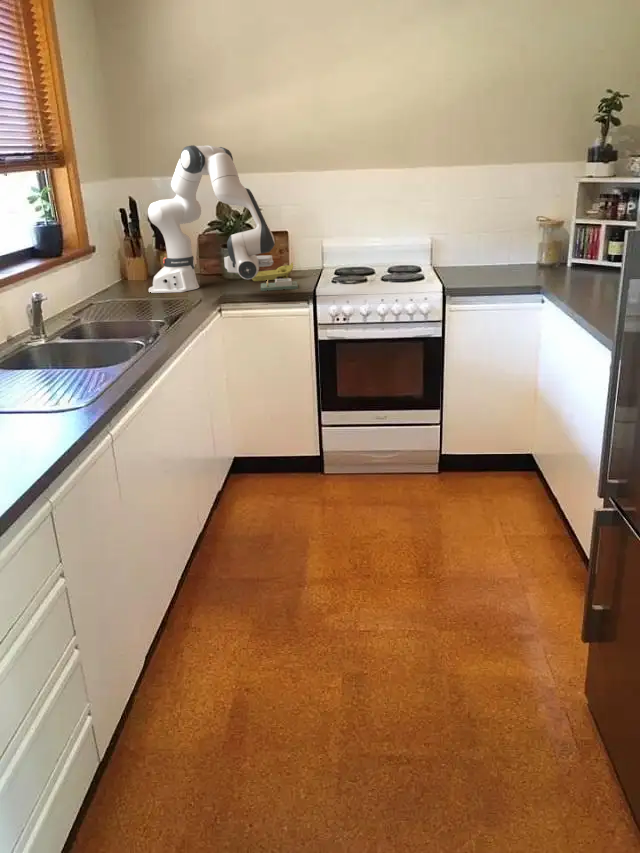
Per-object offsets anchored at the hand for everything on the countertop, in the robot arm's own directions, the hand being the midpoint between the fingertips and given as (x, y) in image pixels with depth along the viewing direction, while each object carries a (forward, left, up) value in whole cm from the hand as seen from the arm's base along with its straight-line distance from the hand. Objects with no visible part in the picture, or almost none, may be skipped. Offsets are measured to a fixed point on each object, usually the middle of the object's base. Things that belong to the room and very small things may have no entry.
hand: (248, 258), depth 312 cm
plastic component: (+10, +30, -15) cm, 34 cm away
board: (+12, +6, -14) cm, 20 cm away
